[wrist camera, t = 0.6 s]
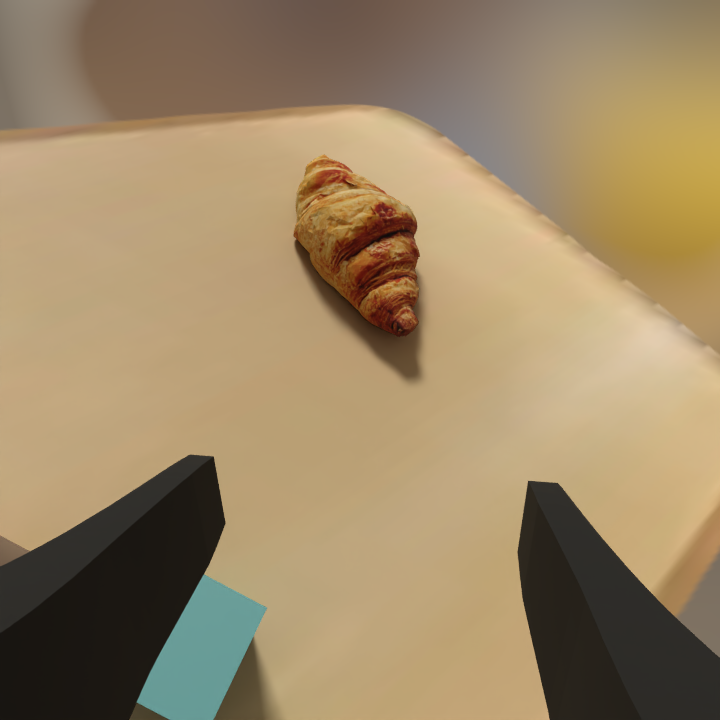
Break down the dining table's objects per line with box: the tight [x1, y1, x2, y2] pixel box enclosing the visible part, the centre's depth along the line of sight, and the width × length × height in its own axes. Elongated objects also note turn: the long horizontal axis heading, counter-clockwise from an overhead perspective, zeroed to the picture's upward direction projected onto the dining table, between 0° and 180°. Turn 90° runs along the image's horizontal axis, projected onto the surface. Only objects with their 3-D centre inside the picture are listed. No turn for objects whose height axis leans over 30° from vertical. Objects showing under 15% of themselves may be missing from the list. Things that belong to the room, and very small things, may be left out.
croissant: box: [294, 155, 420, 337], centre depth 40 cm, size 21×10×8 cm, turn 22°
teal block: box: [137, 575, 267, 720], centre depth 20 cm, size 4×4×6 cm
